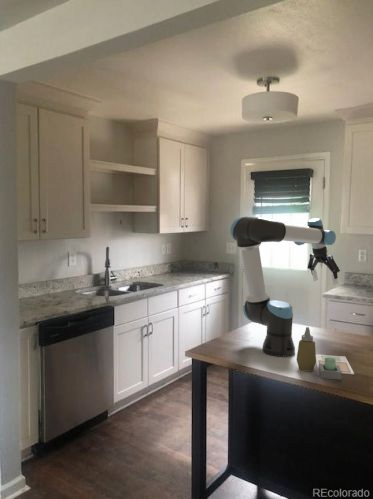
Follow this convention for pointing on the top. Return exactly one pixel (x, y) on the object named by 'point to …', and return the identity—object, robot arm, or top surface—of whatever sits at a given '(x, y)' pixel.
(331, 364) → the button
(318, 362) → the picture sheet
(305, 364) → the squeeze bottle
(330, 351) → the top surface
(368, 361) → the top surface
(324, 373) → the button collar
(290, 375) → the top surface
